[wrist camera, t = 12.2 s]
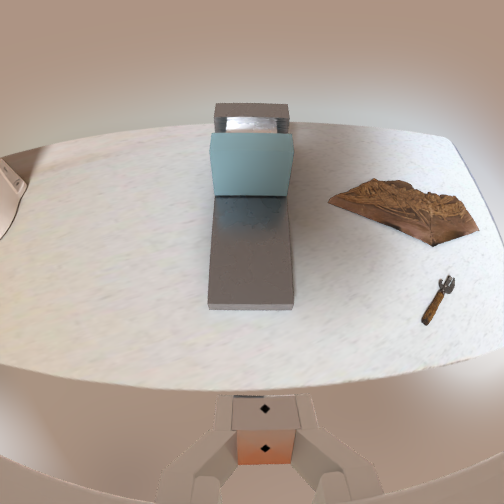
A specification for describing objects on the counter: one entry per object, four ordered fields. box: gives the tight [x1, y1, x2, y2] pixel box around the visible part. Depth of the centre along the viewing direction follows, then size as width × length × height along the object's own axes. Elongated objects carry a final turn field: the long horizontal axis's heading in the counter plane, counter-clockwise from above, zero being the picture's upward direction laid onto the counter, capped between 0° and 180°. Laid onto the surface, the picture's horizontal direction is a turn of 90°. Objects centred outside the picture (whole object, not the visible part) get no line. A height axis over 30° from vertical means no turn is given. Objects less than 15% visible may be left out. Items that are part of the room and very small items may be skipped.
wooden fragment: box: [328, 178, 479, 247], centre depth 42 cm, size 26×11×1 cm, turn 80°
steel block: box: [226, 123, 277, 133], centre depth 39 cm, size 3×6×7 cm, turn 90°
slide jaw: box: [209, 133, 294, 196], centre depth 37 cm, size 3×9×8 cm, turn 90°
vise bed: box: [208, 103, 294, 310], centre depth 36 cm, size 24×9×10 cm, turn 0°
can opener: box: [422, 276, 455, 325], centre depth 35 cm, size 9×2×1 cm, turn 129°
